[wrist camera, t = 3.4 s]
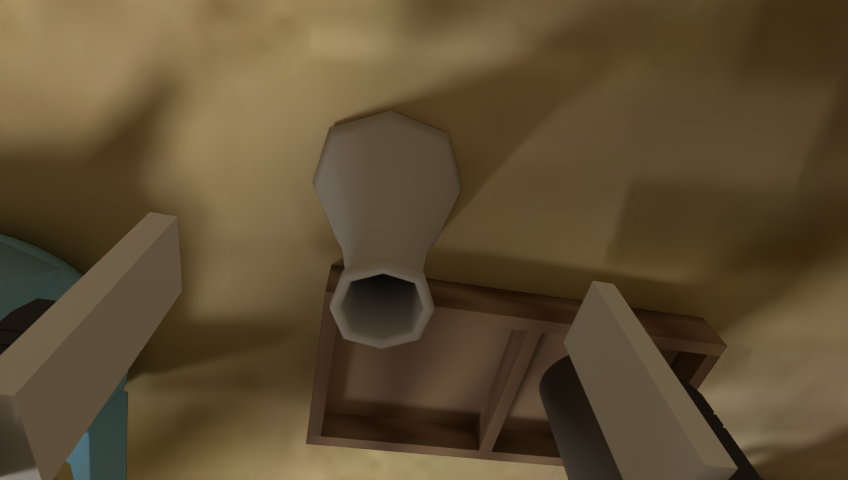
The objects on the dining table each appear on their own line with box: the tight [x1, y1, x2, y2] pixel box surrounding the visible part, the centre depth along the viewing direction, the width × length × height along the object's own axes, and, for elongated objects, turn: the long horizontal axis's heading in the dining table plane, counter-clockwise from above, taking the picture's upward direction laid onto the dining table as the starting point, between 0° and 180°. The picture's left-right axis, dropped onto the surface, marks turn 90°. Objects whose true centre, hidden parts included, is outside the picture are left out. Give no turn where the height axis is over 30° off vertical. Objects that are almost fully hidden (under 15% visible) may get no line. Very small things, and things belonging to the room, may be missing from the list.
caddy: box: [306, 265, 727, 466], centre depth 28 cm, size 22×12×2 cm, turn 78°
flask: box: [313, 111, 462, 349], centre depth 18 cm, size 7×7×10 cm
